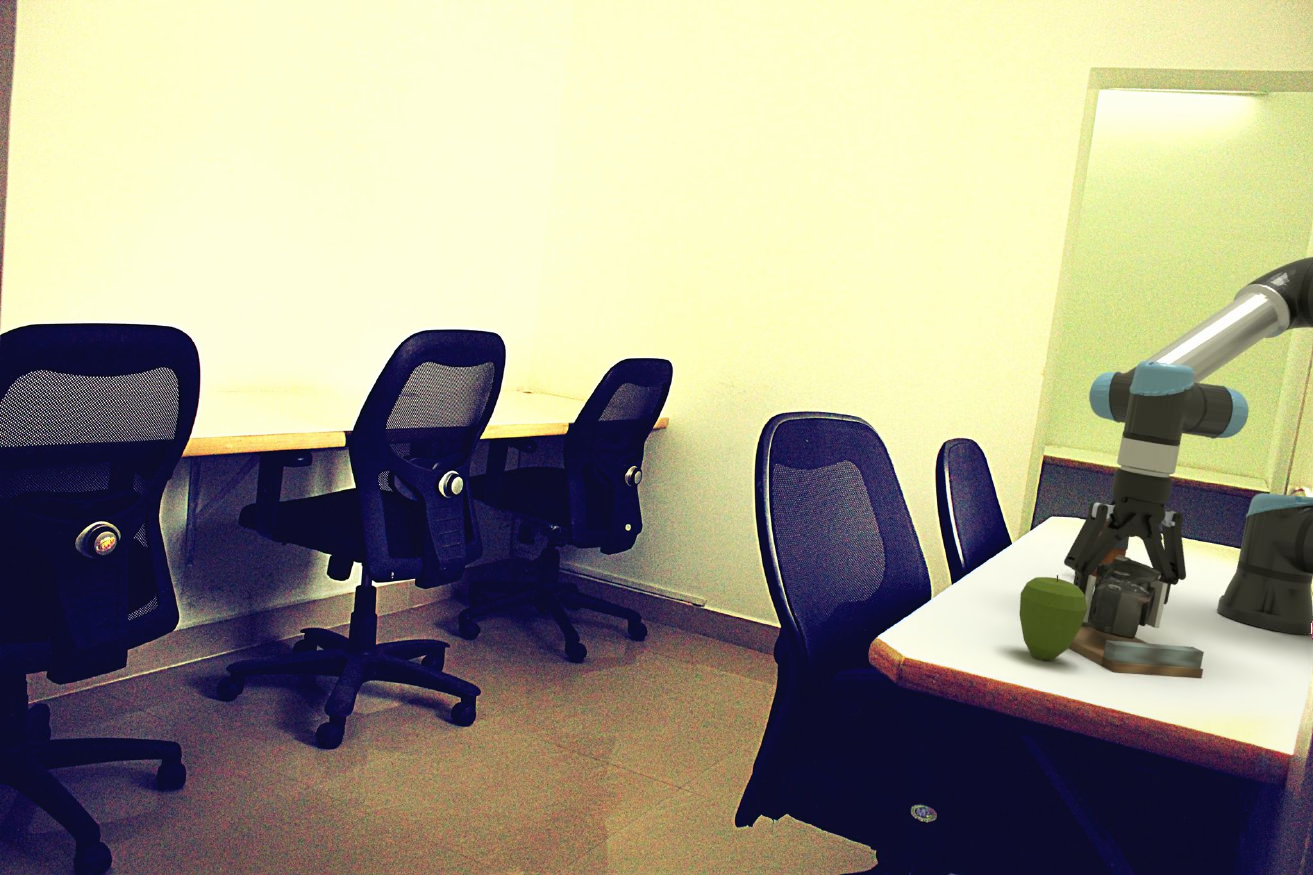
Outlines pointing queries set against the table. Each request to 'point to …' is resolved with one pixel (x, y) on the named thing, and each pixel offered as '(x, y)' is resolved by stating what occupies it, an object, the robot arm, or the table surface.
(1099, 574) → the camera
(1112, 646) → the stand
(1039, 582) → the apple
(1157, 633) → the table surface
